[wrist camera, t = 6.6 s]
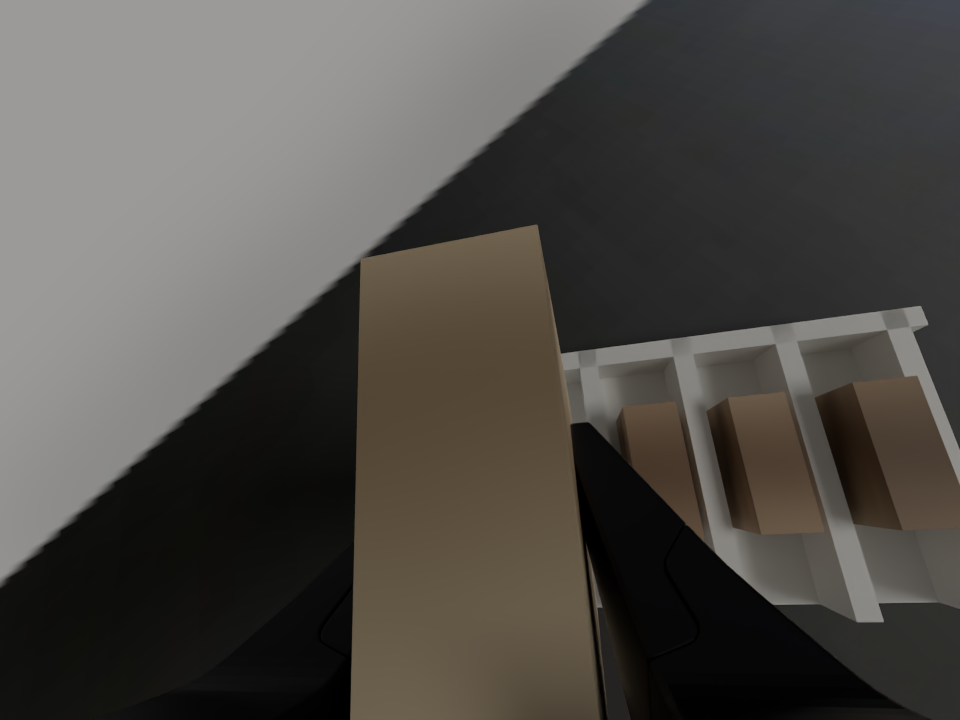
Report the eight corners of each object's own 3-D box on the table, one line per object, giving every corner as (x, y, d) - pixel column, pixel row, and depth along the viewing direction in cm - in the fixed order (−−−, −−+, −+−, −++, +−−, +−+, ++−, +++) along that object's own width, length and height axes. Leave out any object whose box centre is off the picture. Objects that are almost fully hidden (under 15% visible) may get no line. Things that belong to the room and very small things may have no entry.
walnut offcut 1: (681, 529, 19) (705, 539, 15) (634, 531, 19) (645, 541, 16) (659, 417, 20) (676, 401, 17) (616, 421, 21) (622, 406, 17)
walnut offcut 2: (781, 524, 18) (825, 532, 15) (730, 526, 18) (761, 535, 15) (751, 408, 20) (784, 391, 16) (704, 412, 20) (727, 397, 17)
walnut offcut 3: (892, 519, 17) (976, 527, 14) (835, 521, 18) (902, 530, 14) (851, 398, 19) (917, 375, 15) (800, 403, 19) (852, 382, 15)
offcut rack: (965, 596, 17) (1050, 620, 14) (491, 604, 21) (474, 625, 17) (869, 333, 20) (920, 306, 17) (476, 382, 24) (460, 367, 21)
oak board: (596, 599, 14) (643, 1066, 3) (534, 601, 14) (342, 1009, 3) (571, 415, 16) (537, 225, 4) (517, 420, 16) (360, 258, 5)
